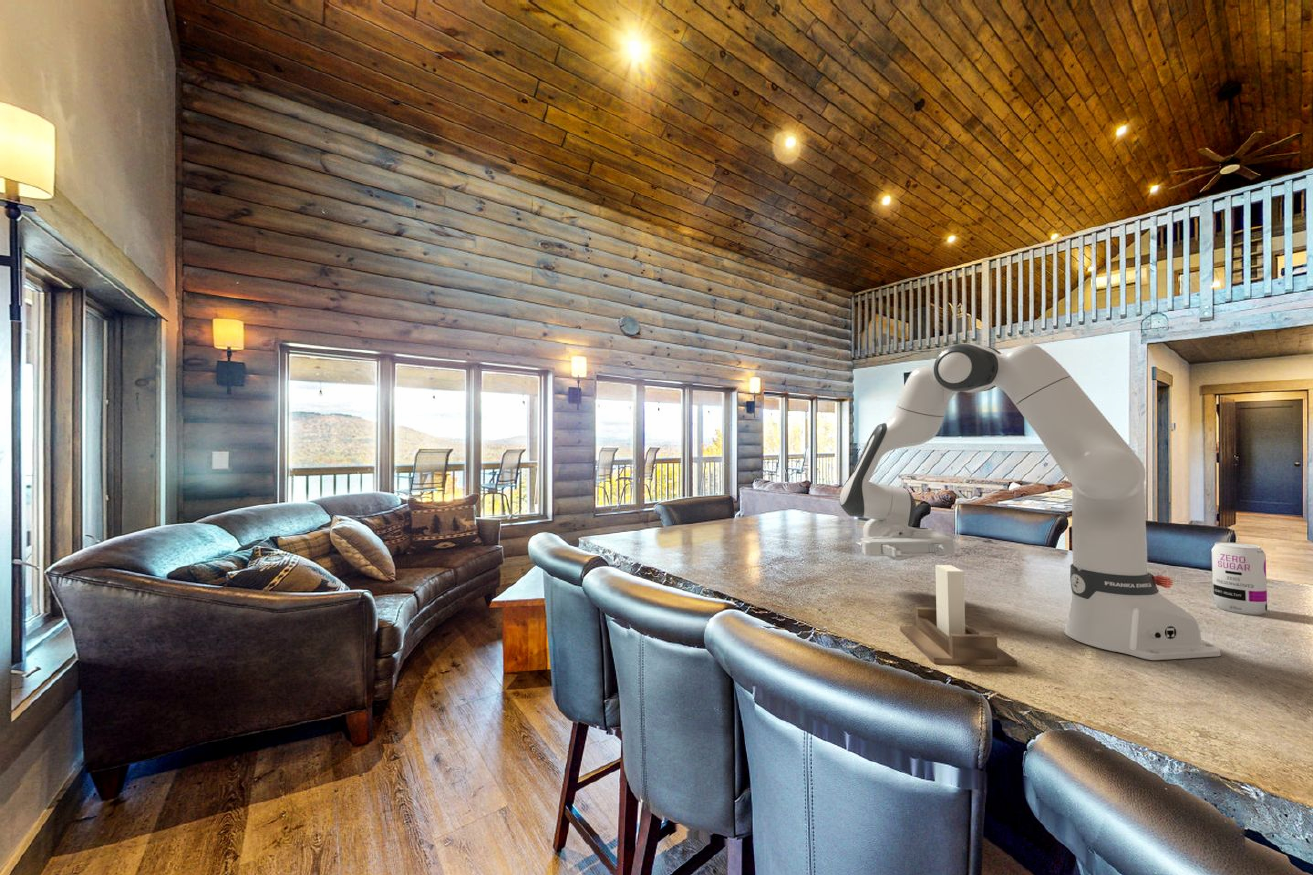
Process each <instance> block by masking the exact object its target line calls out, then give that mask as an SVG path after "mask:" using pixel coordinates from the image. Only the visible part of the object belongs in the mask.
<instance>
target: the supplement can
mask: <svg viewBox="0 0 1313 875" xmlns="http://www.w3.org/2000/svg"><path fill="white" fill-rule="evenodd" d="M1210 551H1211V574H1212V575H1211V577H1212V578H1211V580H1212V581H1211V583H1212V604H1214V605H1215V606H1216V607H1217V608H1218V609H1220V610H1223V611H1226V612H1232V613H1235V614H1241V615H1251V616H1261V615H1264V614H1265V613H1267V612H1268V589H1267V588H1268V587H1267V584H1268V583H1267V562H1266V561H1267V559H1266V557H1267V556H1266V553H1265V551H1264V550H1263V548H1262V546H1259V545H1256V544H1249V543H1241V542H1231V541H1230V542H1228V541H1224V542H1223V541H1217V542H1216V541H1215V543H1214V545H1213V547H1212V548H1211V550H1210Z"/></svg>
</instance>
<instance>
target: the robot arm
mask: <svg viewBox="0 0 1313 875" xmlns="http://www.w3.org/2000/svg"><path fill="white" fill-rule="evenodd" d="M996 387H997V388H999V389H1001V391H1003V392H1004V393H1005V394H1006V395H1007V396H1008V398H1009V399H1010V400H1011V401H1012V403H1013V404H1014V406H1015V407H1016V408H1017V410H1018V411H1019V413H1021V415H1022V417H1023V418H1024V419H1025V421H1026V422H1027V424H1029V426H1030V427H1031V428H1032V430H1033V431H1034V432H1035V433H1036V435H1037V436H1038V438H1039V439H1040V440H1041V442H1042V443H1043V445H1044V446H1045V448H1046V450H1047V451H1048V453H1049V454H1050V455H1051V456H1050V457H1052V459H1053V460H1054V462H1055V463H1056V464H1057V465H1058V467H1059V469H1060V470H1061V471H1062V473H1063V474H1064V476H1065V477H1066V478H1067V480H1068V481H1069V482H1070V484H1071V485H1072V486H1071V487H1072V491H1071V492H1072V494H1071V495H1072V497H1071V498H1072V499H1071V500H1072V501H1071V502H1072V504H1071V506H1072V508H1071V510H1072V511H1071V512H1072V513H1071V540H1072V541H1071V544H1072V549H1071V550H1072V563H1071V564H1070V571H1069V573H1070V574H1069V576H1070V579H1069V580H1070V588H1071V591H1072V592H1071V593H1072V594H1071V603H1070V604H1071V605H1070V609H1069V611H1070V612H1069V615H1068V620H1067V622H1066V626H1065V628H1064V633H1065V634H1066V636H1067V637H1069V638H1071V639H1073V640H1075V641H1076V642H1080V643H1082V644H1085V645H1088V646H1091V647H1095V648H1098V649H1102V650H1106V651H1110V652H1116V653H1117V652H1118V653H1122V654H1126V655H1130V656H1133V657H1137V658H1140V659H1143V660H1150V661H1161V660H1164V661H1165V660H1177V659H1178V660H1179V659H1180V660H1181V659H1194V658H1195V659H1196V658H1210V657H1211V658H1212V657H1220V656H1221V650H1220V649H1219V648H1218V647H1217V646H1215V645H1213V644H1212V643H1210V642H1208V641H1206V640H1204V639H1202V636H1201V630H1200V626H1199V624H1198V621H1197V620H1196V618H1195V617H1194V616H1193V615H1192V614H1191V613H1190V612H1187V611H1186V610H1185V609H1183V608H1182V607H1180V606H1178V604H1176V603H1175V602H1173V601H1171V600H1170V599H1168V597H1166V596H1164V595H1163V594H1162V593H1160V591H1159V589H1158V587H1157V586H1160V587H1162V588H1165V589H1170V588H1171V587H1172V586H1173V584H1174V582H1173V579H1172V578H1170V577H1167V576H1163V575H1160V574H1158V575H1155V576H1154V574H1152V573H1150V572H1149V571H1148V544H1147V524H1146V505H1145V484H1144V483H1145V480H1146V469H1145V466H1144V463H1143V462H1142V460H1141V459H1140V458H1139V456H1138V455H1137V454H1136V453H1135V451H1134V450H1133V449H1132V448H1131V447H1130V446H1129V445H1128V443H1127V442H1126V441H1125V440H1124V438H1123V437H1122V436H1121V435H1120V434H1119V433H1118V431H1117V430H1116V429H1115V427H1114V426H1113V425H1112V424H1111V423H1110V421H1109V420H1108V419H1107V418H1106V416H1105V415H1104V414H1103V413H1102V412H1101V410H1100V409H1099V408H1098V407H1097V405H1095V403H1094V402H1093V401H1092V400H1091V398H1090V396H1088V395H1087V394H1086V392H1085V391H1084V389H1082V388H1081V386H1080V385H1079V384H1078V383H1077V381H1076V380H1075V379H1074V378H1073V377H1072V375H1071V374H1070V373H1069V372H1068V371H1067V369H1065V367H1063V366H1062V365H1061V363H1059V362H1058V361H1057V360H1056V359H1055V358H1054V357H1053V356H1052V355H1051V354H1050V353H1048V352H1047V351H1046V350H1044V349H1043V348H1042V347H1040V346H1039V345H1037V344H1033V343H1032V344H1030V343H1028V344H1026V343H1025V344H1021V345H1018V346H1014V347H1012V348H1011V349H1009V350H1007V351H1005V352H1000V351H999V350H997V349H995V348H992V347H989V346H986V345H982V344H974V343H969V344H968V343H966V344H965V343H959V344H954V345H951V346H949V347H947V348H946V349H944V350H942V351H941V353H939V355H938V356H937V357H936V360H935V361H934V363H933V366H931V365H928V366H927V365H926V366H924V365H923V366H920V367H917V368H914V369H913V370H912V371H911V372H910V374H909V375H908V377H907V379H906V381H905V383H904V385H903V387H902V389H901V393H900V394H899V397H898V400H897V403H896V406H895V409H894V412H893V413H892V414H891V416H890V417H889V418H888V419H887V420H886V421H885V422H882V423H879V424H878V425H877V426H876V427H875V428H874V430H873V431H872V433H871V435H870V437H869V438H868V440H867V442H866V443H865V445H864V447H863V449H862V452H861V453H860V455H859V457H858V460H857V462H856V464H855V466H854V468H853V470H852V472H851V474H849V477H848V479H847V480H846V482H845V483H844V485H843V486H842V489H841V491H840V494H839V505H840V507H841V508H842V510H843V511H844V513H846V514H847V515H848V516H849V517H855V518H865V519H867V521H866V522H865V523H864V524H863V527H862V535H863V537H861V539H860V541H855V546H856V547H859V548H861V552H862V554H863V555H864V556H866V557H877V558H878V557H887V558H889V559H890V560H892V561H899V562H900V561H905V560H908V559H913V558H917V557H926V556H929V557H930V556H932V557H933V556H936V557H945V556H954V555H955V554H956V543H955V540H954V539H953V538H952V537H950V536H947V535H945V534H942V533H939V532H935V530H934V529H932V528H930V527H929V528H928V527H919V526H918V527H917V526H913V524H914V522H915V518H916V515H917V503H916V500H915V498H914V497H913V494H912V493H911V492H910V491H909V490H908V489H907V488H905V487H900V486H894V485H887V484H882V483H878V482H872V481H870V480H871V478H872V476H873V474H874V473H875V471H876V469H877V466H878V464H879V462H880V460H881V458H882V457H883V456H884V455H886V454H887V453H889V452H890V451H893V450H898V449H903V448H907V447H909V448H910V447H915V446H919V445H922V444H925V443H927V442H929V441H931V440H932V439H934V438H935V437H936V436H937V435H938V433H939V431H940V428H941V426H942V425H943V422H944V418H945V416H946V411H947V408H948V406H949V403H950V400H952V398H953V397H954V396H955V395H957V394H958V393H970V394H971V393H980V392H981V393H982V392H987V391H990V390H993V389H994V388H996Z"/></svg>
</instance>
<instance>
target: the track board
mask: <svg viewBox="0 0 1313 875" xmlns="http://www.w3.org/2000/svg"><path fill="white" fill-rule="evenodd" d="M914 608H915V610H914V611H915V612H914V613H915V626H911V625H900V626H899V631H900V632H901V633H902V634H903V635H904V636H905V637H906V638H907V639H908V640H909V641H910V642H911V643H912V644H913V645H914V646H915V647H916V648H917V649H918V650H919V651H921V652H922V653H923V655H925V656H926V657H927V658H928V659H929V660H930V662H932V663H933V664H936V665H937V664H938V665H939V664H940V665H942V664H943V665H972V666H974V665H977V666H979V665H980V666H983V665H984V666H1006V667H1007V666H1012V667H1013V666H1014V667H1017V665H1018V663H1017V662H1018V660H1017V659H1016V658H1014V657H1013V656H1012V655H1010V654H1009V653H1007V652H1006V651H1004V650H1003V649H1001V648H1000V647H999V646H998V636H996V635H995V634H989V633H986V634H985V633H979V632H978V631H976V630H975V629H974V628H972V627H970V626H969V625H968V624H966V623H965V634H949V637H948V636H947V635H946V634H945V633H943V632H942V631H941V630H940V629H938V628H937V612H936V607H923V606H922V607H921V606H920V607H919V606H918V607H916V606H915V607H914Z"/></svg>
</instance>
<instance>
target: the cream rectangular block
mask: <svg viewBox="0 0 1313 875" xmlns="http://www.w3.org/2000/svg"><path fill="white" fill-rule="evenodd" d="M934 566H935V600H936V601H935V603H936V607H935V608H936V612H937V628H938V629H940V630H941V631H942V632H943V633H945V634H946V635H947V636H948V637H949V634H965V624H966V611H965V610H966V607H965V606H966V605H965V604H966V603H965V571H964V570H962V569H959V568H958V567H955V566H954V565H949V564H943V565H942V564H935V565H934Z"/></svg>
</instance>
